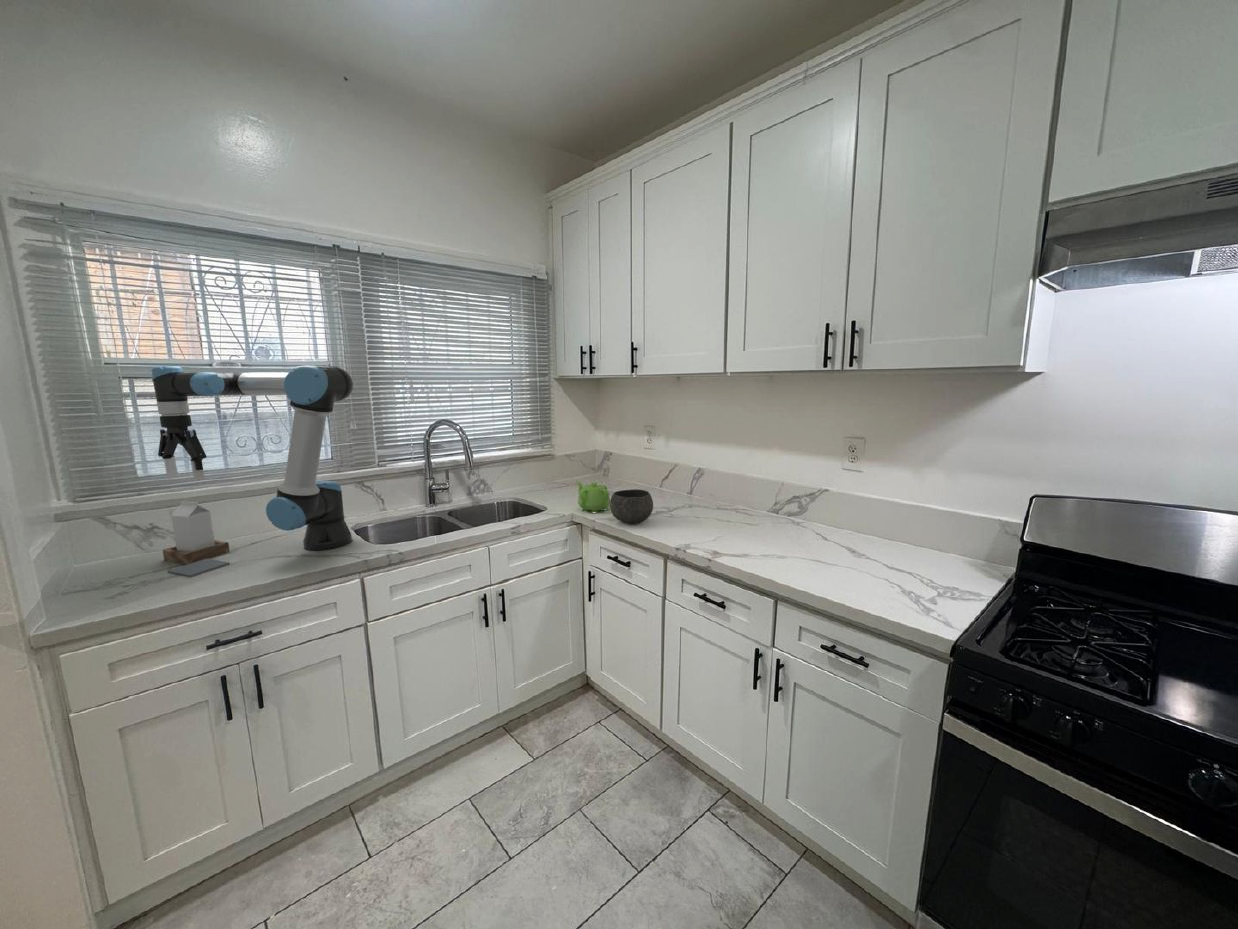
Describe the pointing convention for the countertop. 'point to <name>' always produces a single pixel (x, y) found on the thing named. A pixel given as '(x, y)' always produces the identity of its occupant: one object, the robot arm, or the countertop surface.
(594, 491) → the teapot
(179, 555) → the ring frame
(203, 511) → the milk carton
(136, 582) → the countertop surface
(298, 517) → the robot arm
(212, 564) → the slate mat
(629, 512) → the bowl
